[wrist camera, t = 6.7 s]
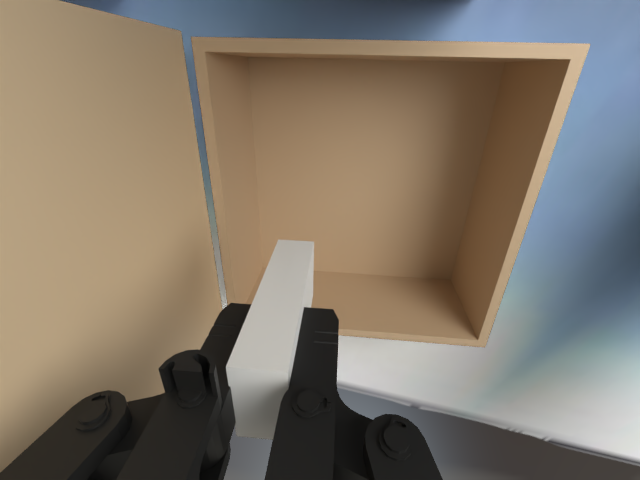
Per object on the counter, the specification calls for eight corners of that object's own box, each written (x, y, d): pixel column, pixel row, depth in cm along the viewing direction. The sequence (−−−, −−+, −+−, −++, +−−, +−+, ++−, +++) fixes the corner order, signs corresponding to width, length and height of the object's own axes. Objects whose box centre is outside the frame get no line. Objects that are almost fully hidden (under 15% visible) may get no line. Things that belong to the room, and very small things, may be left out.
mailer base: (512, 52, 21) (590, 43, 14) (454, 281, 30) (485, 347, 23) (242, 47, 23) (190, 36, 16) (258, 267, 31) (230, 326, 24)
